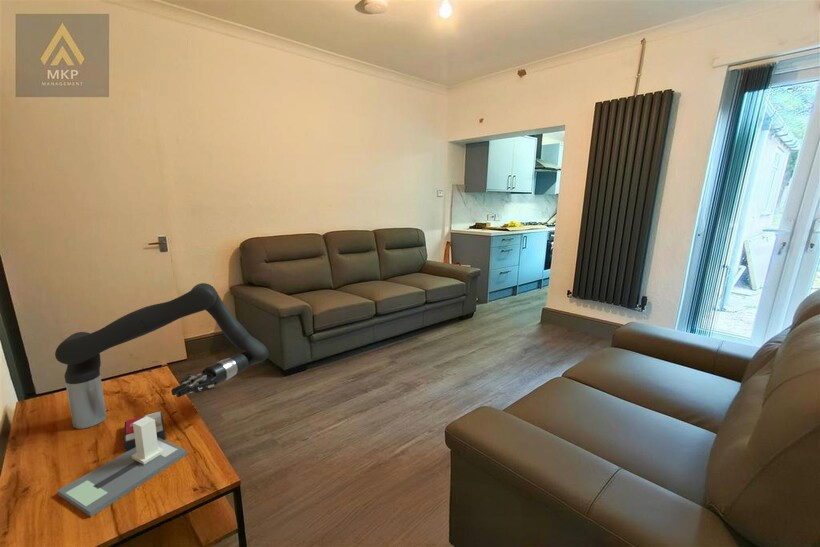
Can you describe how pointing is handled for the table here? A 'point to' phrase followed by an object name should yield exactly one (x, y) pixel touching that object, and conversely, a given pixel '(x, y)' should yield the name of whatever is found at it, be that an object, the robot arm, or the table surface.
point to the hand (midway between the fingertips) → (174, 393)
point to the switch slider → (146, 440)
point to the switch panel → (117, 478)
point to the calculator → (129, 430)
